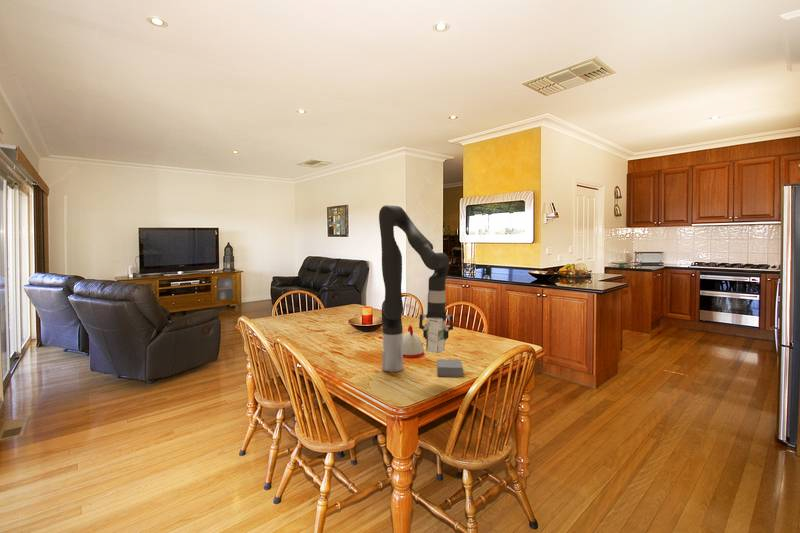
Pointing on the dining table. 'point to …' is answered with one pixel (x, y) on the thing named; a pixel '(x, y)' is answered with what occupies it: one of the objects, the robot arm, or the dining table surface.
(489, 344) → the dining table surface
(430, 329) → the syrup box
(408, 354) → the kitchen timer
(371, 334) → the dining table surface
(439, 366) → the grey block
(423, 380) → the dining table surface
